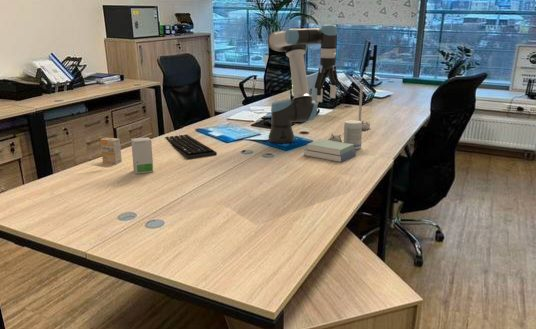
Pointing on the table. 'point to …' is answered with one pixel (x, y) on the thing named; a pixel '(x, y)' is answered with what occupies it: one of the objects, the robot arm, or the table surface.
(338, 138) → the game die
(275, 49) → the robot arm
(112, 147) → the supplement box
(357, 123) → the supplement tub
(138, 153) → the skincare box
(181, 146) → the computer keyboard
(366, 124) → the flag stand
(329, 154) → the book pile
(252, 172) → the table surface
